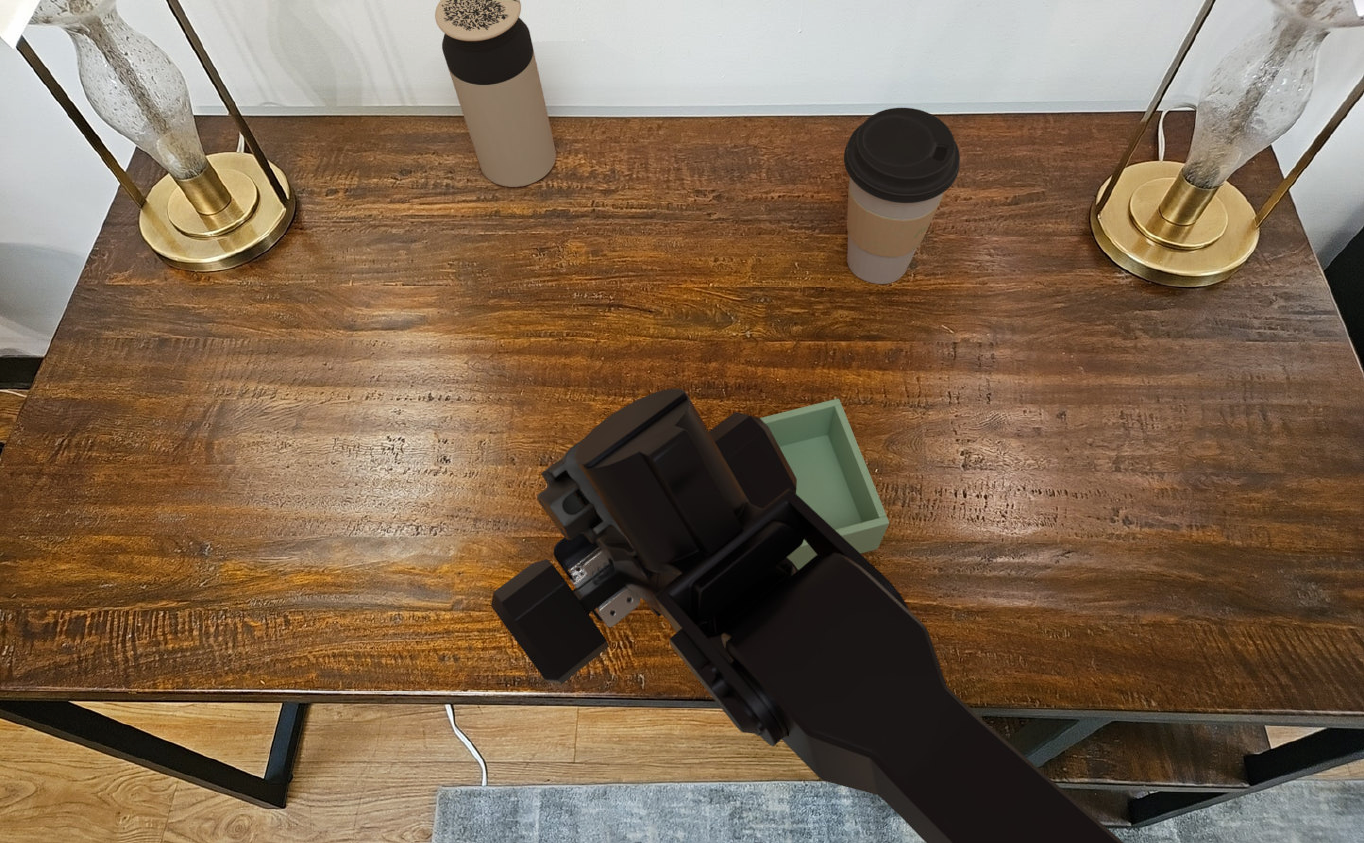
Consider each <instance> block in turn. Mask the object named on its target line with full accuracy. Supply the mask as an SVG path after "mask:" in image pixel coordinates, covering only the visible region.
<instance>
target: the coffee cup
mask: <svg viewBox="0 0 1364 843" xmlns="http://www.w3.org/2000/svg"><path fill="white" fill-rule="evenodd" d="M960 161H961V153H960V148H959V146H958V144H957V142H956V140H955V138H954V135H953V133H952V131H951V130H950V128H949V127H948V125H947V124H946V123H945V122H944V121H942V120H941V119H940V118H938V117H937V116H935V115H934V114H931V113H930V112H927V111H924V110H922V109H917V108H914V107H913V108H911V107H893V108H892V107H891V108H886V109H884V110H881V111H880V110H879V111H878V112H875V113H874V114H872V115H871V116H869V117H868V118H867V119H865V121H864V122H863V123H861V124H860V125H858V127H857V128H855V129H854V131H853V132H852V133H851V135H850V137H849V138H848V141H847V143H846V146H845V148H844V152H843V163H844V168H845V170H846V172H847V175H848V176H849V178H848V195H847V217H846V229H847V230H846V231H847V254H846V256H847V257H846V261H847V266H848V268H849V270H850V272H851V273H852V274H853V275H854V276H856V277H857V278H858V279H860V280H862V281H865V282H867V283H871V284H876V285H889V284H892V283H895V282H897V281H899V280H900V279H901V278H902V277H903V276H904V275H905V274H906V272H907V270H908V268H909V266H910V264H911V262H912V260H913V257H914V255H915V254H916V251H917V249H918V248H919V246H920V245H921V244H922V242H923V240H924V238H925V236H926V233H927V231H928V230H929V227H930V225H931V223H932V221H933V219H934V217H935V214H936V213H937V210H938V208H939V206H940V204H941V202H942V200H943V197H944V193H945V192H946V191H947V190H948V189H950V188H951V187H952V185H953V184H954V183H955V181H956V179H957V177H958V175H959V172H960V164H961V162H960Z"/></svg>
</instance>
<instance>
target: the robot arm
mask: <svg viewBox="0 0 1364 843" xmlns="http://www.w3.org/2000/svg"><path fill="white" fill-rule="evenodd" d="M760 418H761V417H759V416H755V415H752V414H749V413H748V414H747V413H743V412H739V411H734V412H733V413H731V414H730V415H729V416H727V417H726V418H725V419H724V420H723V421H721V422H719V423H718V424H716V426H714V427H712V429H710V430H709V429H708V428H707V425H706V424H705V422H704V421H703V419H702V417H701V416H700V414H699V412H698V411H697V409H696V407H695V405H694V403H693V401H692V400H691V398H690V396H689V395H688V394H687V391H686V390H684V389H681V388H668V389H662V390H658V391H656V392H653V393H650V394H648V395H645V396H642V397H640V398H638V399H636V400H634V401H632V402H630V403H628V404H627V405H625V406H623V407H621V408H619V409H618V410H617V411H615V412H613V413H612V414H610V415H609V416H607V417H605V419H603V420H602V421H601V422H599V424H597V425H596V426H595V427H594V428H592V429H591V430H590V431H589V432H588V433H587V435H585V436H584V438H582V439H581V440H579V441H578V442H577V443H575V444H573V445H572V446H571V447H570V448H568V450H567V451H566V452H565V454H564V455H563V456H562V457H560V458H561V459H560V458H559V459H560V460H559V459H558V461H557V460H556V461H557V462H556V461H555V462H554V463H553V464H551V465H550V466H549V467H547V468H546V469H544V470H543V471H542V472H540V475H541V477H542V478H543V480H544V481H545V483H546V488H545V489H544V490H542V491H540V492H539V493H538V494H537V495H536V500H537V501H538V504H539V505H540V506H541V508H542V509H543V511H544V512H545V514H546V515H547V516H548V517H549V518H550V520H551V521H552V523H553V525H554V526H555V527H556V528H557V530H558V531H559V532H560V534H561V535H562V536H563V537H562V538H561V539H560V540H558V541H557V542H556V543H555V545H554V547H553V553H552V554H553V556H554V558H555V560H556V562H557V564H558V565H559V567H560V568H561V569H562V571H563V573H564V574H565V575H566V577H567V578H568V580H569V582H570V584H571V585H572V586H573V587H574V589H572V588H571V586H570V585H569V583H568V582H567V581H566V579H565V578H564V577H563V575H562V574H561V573H560V572H559V571H558V569H557V567H556V566H555V565H553V563H552V562H551V561H550V560H549V559H548V558H545V559H542V560H539V561H535V562H532V563H530V564H529V565H528V566H526V567H525V568H523V569H522V570H521V571H520V572H518V573H517V574H516V575H514V576H513V577H512V578H510V579H509V580H508V581H506V582H504V584H502V585H501V586H500V587H498V588H497V589H495V590H494V591H493V594H492V598H491V603H490V607H491V609H492V610H493V611H494V613H495V614H496V615H497V617H498V618H499V620H500V621H501V623H502V624H503V625H504V626H505V628H506V629H507V631H508V632H509V634H511V636H512V637H513V639H514V640H515V641H516V642H517V644H518V645H519V647H520V648H521V649H522V650H523V652H524V653H525V655H526V656H527V657H528V659H529V661H531V663H532V664H533V666H534V667H535V668H536V670H537V671H538V673H539V674H540V675H541V677H542V678H543V679H544V681H545V682H546V683H550V684H557V685H563V684H564V683H566V682H567V681H568V680H569V679H571V678H572V677H573V676H574V675H575V674H577V673H578V672H579V671H580V670H582V669H583V668H584V667H586V666H587V665H588V664H589V663H591V662H592V661H593V660H595V659H596V658H597V657H598V656H600V654H602V653H603V652H605V651H606V650H607V649H608V648H609V647H610V645H609V643H608V640H607V638H606V637H605V636H604V634H603V633H602V631H601V630H600V628H599V627H598V625H597V624H596V623H595V620H593V619H592V617H591V615H590V614H591V613H592V614H593V616H594V617H595V618H596V619H597V620H598V621H600V622H603V623H604V625H606V627H608V628H612V627H615V625H617V624H618V623H619V622H621V621H622V620H623V619H625V618H626V617H627V616H628V615H630V614H631V613H632V612H634V610H636V609H637V608H638V606H639V604H640V603H641V599H642V600H643V601H644V602H645V604H646V605H647V607H648V608H649V610H650V611H651V612H652V613H653V614H654V615H655V616H656V617H658V618H660V617H663V618H665V619H666V620H667V621H668V622H669V624H670V625H671V627H672V628H673V630H674V632H675V633H674V634H673V635H671V637H669V646H670V647H671V648H672V649H673V650H674V652H675V653H676V654H677V655H678V657H679V658H680V659H681V661H683V663H684V664H685V665H686V667H687V668H688V670H690V672H691V673H692V674H693V675H694V676H695V678H696V679H697V680H698V681H699V683H701V685H702V686H703V688H704V689H705V690H706V691H707V693H708V694H709V695H710V696H711V697H712V699H713V700H714V701H715V703H716V704H717V705H718V706H719V707H720V709H721V710H722V711H723V712H724V714H725V715H726V716H727V717H728V719H729V720H730V721H731V722H732V723H733V725H734V726H735V727H736V728H737V729H738V730H739V731H740V733H743V734H744V733H745V734H754V735H756V736H757V737H760V738H761V739H762V740H763V741H764V742H766V743H767V745H769V746H772V747H775V746H776V745H777V744H779V742H780V741H782V742H783V743H784V744H785V745H786V746H787V747H788V748H789V749H790V750H791V751H792V752H793V753H794V754H795V755H796V756H797V757H798V758H799V759H800V760H801V761H802V762H803V763H804V764H805V766H807V767H808V768H809V769H810V770H811V771H812V772H813V773H814V774H815V775H816V776H817V777H818V778H819V779H820V780H821V781H824V782H826V783H830V784H834V785H838V786H842V787H844V788H848V789H853V790H857V791H860V792H864V793H868V794H872V795H876V796H878V797H879V798H881V800H882V801H884V802H885V803H886V804H887V805H888V806H889V808H891V809H892V810H893V811H895V813H896V814H897V815H898V816H899V817H901V819H903V820H904V822H905V823H906V824H907V825H908V826H909V827H910V828H911V829H912V830H913V831H914V832H915V833H916V834H917V835H918V836H919V837H920V838H921V839H922V840H923V842H925V843H1124V841H1123V840H1122V839H1120V838H1119V837H1118V836H1116V834H1115V833H1113V832H1112V831H1111V830H1110V829H1109V828H1107V827H1106V826H1105V824H1103V823H1101V821H1100V820H1098V819H1097V818H1096V817H1095V816H1094V815H1093V814H1092V813H1091V812H1089V811H1088V809H1086V808H1084V807H1083V806H1082V805H1081V804H1080V803H1078V801H1077V800H1075V799H1074V798H1073V797H1072V796H1071V795H1069V793H1067V792H1066V791H1065V790H1064V789H1062V788H1061V787H1060V786H1059V785H1058V784H1057V783H1056V782H1054V781H1053V780H1052V779H1051V778H1050V777H1049V776H1048V775H1047V774H1045V773H1044V772H1043V771H1042V770H1041V769H1040V768H1038V767H1037V766H1036V765H1035V764H1034V763H1033V762H1032V761H1030V759H1028V758H1027V757H1026V756H1025V755H1024V754H1023V753H1022V752H1020V751H1019V750H1018V749H1017V748H1015V746H1013V744H1011V743H1010V742H1009V741H1007V739H1005V738H1004V737H1003V736H1002V735H1001V734H999V733H998V732H997V731H996V730H995V729H994V728H993V727H991V726H990V725H989V724H988V723H987V722H985V720H984V719H982V717H980V716H979V715H978V714H976V713H975V712H974V711H973V710H972V709H971V708H970V707H969V706H968V705H967V704H966V703H965V702H964V701H963V700H962V699H960V697H959V696H957V694H955V693H954V692H953V691H952V689H950V687H948V685H947V683H946V679H945V677H944V673H943V670H942V668H941V665H940V661H939V659H938V656H937V653H936V649H935V647H934V644H933V641H932V638H931V635H930V632H929V630H928V629H927V626H926V625H925V624H924V623H923V622H922V621H921V620H919V618H918V617H917V616H915V614H913V613H912V612H911V611H910V610H909V606H908V604H907V603H906V602H905V600H904V598H903V596H902V595H901V593H900V592H899V591H898V589H897V588H896V586H894V584H893V583H892V582H891V581H890V580H889V579H888V578H887V577H886V576H885V575H884V574H883V573H882V572H881V571H880V570H878V568H877V567H875V566H874V565H873V564H872V563H871V562H870V561H869V560H868V559H867V558H866V557H865V556H863V555H862V553H861V554H860V553H859V552H858V551H857V550H856V549H855V548H854V547H853V546H852V545H850V544H849V543H848V542H847V541H846V540H845V539H844V538H843V537H842V536H841V535H840V534H839V533H838V532H836V531H835V530H834V529H833V528H832V527H831V526H830V525H829V524H828V523H827V522H826V521H825V520H824V519H822V518H821V517H820V516H819V515H818V514H817V513H816V512H815V511H814V510H813V509H812V508H811V507H809V506H808V505H807V504H806V503H805V502H804V501H803V500H802V499H801V498H800V497H799V496H798V495H797V494H796V489H797V478H796V477H795V475H794V473H793V471H792V469H791V467H790V465H789V464H788V462H787V460H786V458H785V456H784V454H783V453H782V451H781V449H780V447H779V445H778V443H777V442H776V440H775V438H774V436H773V434H772V432H771V430H770V429H769V427H768V426H767V425H766V424H765V423H764V422H763V421H762V420H761V419H760ZM804 540H805V541H806V542H807V543H808V544H809V546H810V547H811V548H812V549H813V550H814V552H815V553H816V554H817V555H816V556H815V557H814V558H812V559H811V560H810V561H809V562H808V563H806V564H805V565H804V566H803V567H802V568H801V569H799V570H798V569H797V568H796V566H795V565H794V563H793V562H792V561H790V560H789V559H788V558H787V557H788V556H789V555H790V554H791V553H793V552H794V551H795V550H796V549H797V548H799V547H800V546H801V545H802V543H803V541H804Z"/></svg>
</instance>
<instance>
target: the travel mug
mask: <svg viewBox="0 0 1364 843" xmlns="http://www.w3.org/2000/svg"><path fill="white" fill-rule="evenodd" d="M521 3H522V2H521V0H439V2H438V4H437V5H436V8H435V12H434V19H435V23H436V25H437V27H438V28H439V30H440V31H441V32H442V33H444V35H443V39H442V43H441V50H442V53H443V56H444V59H445V63H446V65H447V68H448V72H449V75H450V79H451V81H452V85H453V87H454V90H455V93H456V96H457V99H458V102H459V106H460V109H461V112H462V115H463V119H464V121H465V124H466V127H467V130H468V133H469V136H470V139H471V142H472V146H473V148H474V153H475V156H476V158H477V161H478V164H479V167H480V170H481V173H482V174H483V176H484V177H486V178H487V179H488V180H489V181H490V182H491V183H494V184H495V185H498V186H503V187H510V188H518V187H525V186H529V185H531V184H534V183H536V182H538V181H540V180H542V179H543V178H544V177H545V176H547V175H548V174H549V172H550V171H552V169H553V167H554V166H555V163H556V159H557V152H556V146H555V142H554V136H553V133H552V132H553V131H552V128H551V123H550V119H549V115H548V114H549V113H548V110H547V105H546V101H545V95H544V91H543V87H542V82H541V78H540V74H539V70H538V68H539V67H538V63H537V60H536V54H535V50H534V44H533V40H532V37H531V31H530V29H529V27H528V25H527V24H526V23H525V22H524V21H523V19H522V18H520V15H521V12H522V4H521Z"/></svg>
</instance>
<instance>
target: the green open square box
mask: <svg viewBox="0 0 1364 843" xmlns="http://www.w3.org/2000/svg"><path fill="white" fill-rule="evenodd" d="M759 418H760V419H761V420H762V421H763V422H764V423H765V424H766V425H767V426H768V427H769V429H770V430H771V432H772V434H773V436H774V438H775V440H776V442H777V443H778V445H779V447H780V449H781V451H782V453H783V454H784V456H785V458H786V460H787V462H788V464H789V465H790V467H791V469H792V471H793V473H794V475H795V477H796V478H797V489H796V494H797V495H798V496H799V497H800V498H801V499H802V500H803V501H804V502H805V503H806V504H807V505H808V506H809V507H811V508H812V509H813V510H814V511H815V512H816V513H817V514H818V515H819V516H820V517H821V518H822V519H824V520H825V521H826V522H827V523H828V524H829V525H830V526H831V527H832V528H833V529H834V530H835V531H836V532H838V533H839V534H840V535H841V536H842V537H843V538H844V539H845V540H846V541H847V542H848V543H849V544H850V545H852V546H853V547H854V548H855V549H856V550H857V551H858V552H859V553H860V554H861V555H862V554H864V553H869V552H872V551H875V550H878V549H879V547H880V545H881V543H882V540H883V538H884V536H885V534H886V531H887V529H888V527H889V525H890V521H889V518H888V516H887V512H886V511H885V508H884V506H883V503H882V501H881V499H880V496H879V493H878V490H877V488H876V486H875V484H874V481H873V478H872V476H871V473H870V471H869V469H868V466H867V464H866V460H865V459H864V456H863V454H862V451H861V449H860V447H859V444H858V442H857V439H856V437H855V434H854V432H853V429H852V427H851V424H850V422H849V419H848V417H847V414H846V412H845V410H844V407H843V405H842V402H841V400H840V398H834V399H830V400H826V401H822V402H818V403H815V404H809V405H807V406H803V407H799V408H794V409H789V410H786V411H782V412H779V413H774V414H771V415H770V414H769V415H767V416H762V417H759ZM816 555H817V554H816V553H815V552H814V550H813V549H812V548H811V547H810V546H809V544H808V543H807V542H806V541H805V540H804V541H803V543H802V545H801V546H800V547H799V548H797V549H796V550H795V551H794V552H793V553H791V554H790V555H789V556H788V557H787V558H788V559H789V560H790V561H792V562H793V563H794V565H795V566H796V568H797V569H798V570H799V569H801V568H802V567H803V566H804V565H805V564H806V563H808V562H809V561H810V560H811V559H812V558H814V557H815V556H816Z"/></svg>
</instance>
